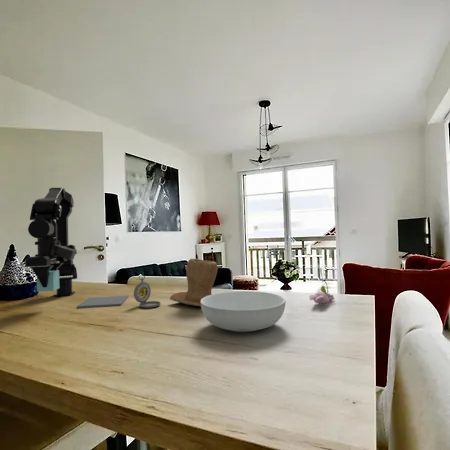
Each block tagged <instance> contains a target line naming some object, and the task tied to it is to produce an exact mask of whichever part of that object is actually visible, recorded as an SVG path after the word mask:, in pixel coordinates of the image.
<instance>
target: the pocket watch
mask: <svg viewBox="0 0 450 450" xmlns="http://www.w3.org/2000/svg"><path fill="white" fill-rule="evenodd" d="M141 276H142V277H141ZM140 277H141V278H140ZM145 278H146V276H145V275H144V274H140V275H139V276H138V280H139V281H141V282H139V283H138V284H137V285H136V286H135V287H134V289H133V290H134V291H133V297H134V299H135V300H136V302H138V303H139V307H140V308H144V309H145V308H146V309H150V308H156V307H158V306H161V302H160V301H158V300H150V301H148V300H149V298H150V296H151V290H152V289H151V286H150V285H149V283H148V282H145Z"/></svg>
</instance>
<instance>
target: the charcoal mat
mask: <svg viewBox="0 0 450 450" xmlns="http://www.w3.org/2000/svg"><path fill="white" fill-rule="evenodd" d="M128 298H129V295H114V296H99V297H98V296H96V297H95V296H94V297H88V298H86V299H85V300H84V301H83V302H81V303H80V304H78V305H77V306H76V309H82V308H84V309H85V308H87V307H88V308H99V307H101V306H104V307H115V306H117V307H119V306H122V305H123V304H124V303H125V302H126V300H127V299H128ZM88 308H87V309H88Z"/></svg>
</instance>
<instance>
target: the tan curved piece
mask: <svg viewBox="0 0 450 450" xmlns="http://www.w3.org/2000/svg"><path fill="white" fill-rule="evenodd" d="M218 269H219V267H218V264H217V262H216V261H213V260H206V259H205V260H204V259H199V258H190V259H189V260H187V263H186V280H187V291H179V292H176V293H173V294H172V295H170V297H169V300H171V301H174V302H177V303H180V304H183V305H188V306H193V307H201V303H200V301H201V299H202V298H204V297H206V296H209V295H212V289H213V287H214V283H215V280H216V277H217V274H218Z"/></svg>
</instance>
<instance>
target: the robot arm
mask: <svg viewBox="0 0 450 450" xmlns="http://www.w3.org/2000/svg"><path fill="white" fill-rule="evenodd" d="M74 204H75V203H74V198H73V196H72V194H71V193H69V192H68V191H66V188H63V187H51V188H49V190H48V192H47V193H46V195H45V197H43V198H38V199H36V200H35V201H34V203H33V204H32V205H31V206H32V207H31V211H30V216H29V221H31V222H30V223H29V225H28V228H27V230H28V231H27V232H28V234H29V235H30V236H31V237H32V238H35V239H36V240H37V241H35V242H34V245H35V246H37V254H35V255H34V256H28V257H27V258H25V260H24V267H27V268H29V267H30V269H32V270H31V271H33V273H34V274H35V276H36V279H37V278H38V279H39V281H40V283H41V285H42V286H43V287H47V284H48V276H49V271H53V270H59V289H57V290H55V291H56V293H55V294H53V295H52V296H53V297H62V296H63V297H64V296H72V295H73V294H75V293H76V291H75V290H74V291H73V280H76V279H78V272H77V271H78V270H77V267H76V264H74V259H75V256H76V255H77V254H78V252H77V251H78V250H77V249H76V245H73V244H69V218H70V216H71V214H72V212H73V208H74V206H75V205H74Z"/></svg>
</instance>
